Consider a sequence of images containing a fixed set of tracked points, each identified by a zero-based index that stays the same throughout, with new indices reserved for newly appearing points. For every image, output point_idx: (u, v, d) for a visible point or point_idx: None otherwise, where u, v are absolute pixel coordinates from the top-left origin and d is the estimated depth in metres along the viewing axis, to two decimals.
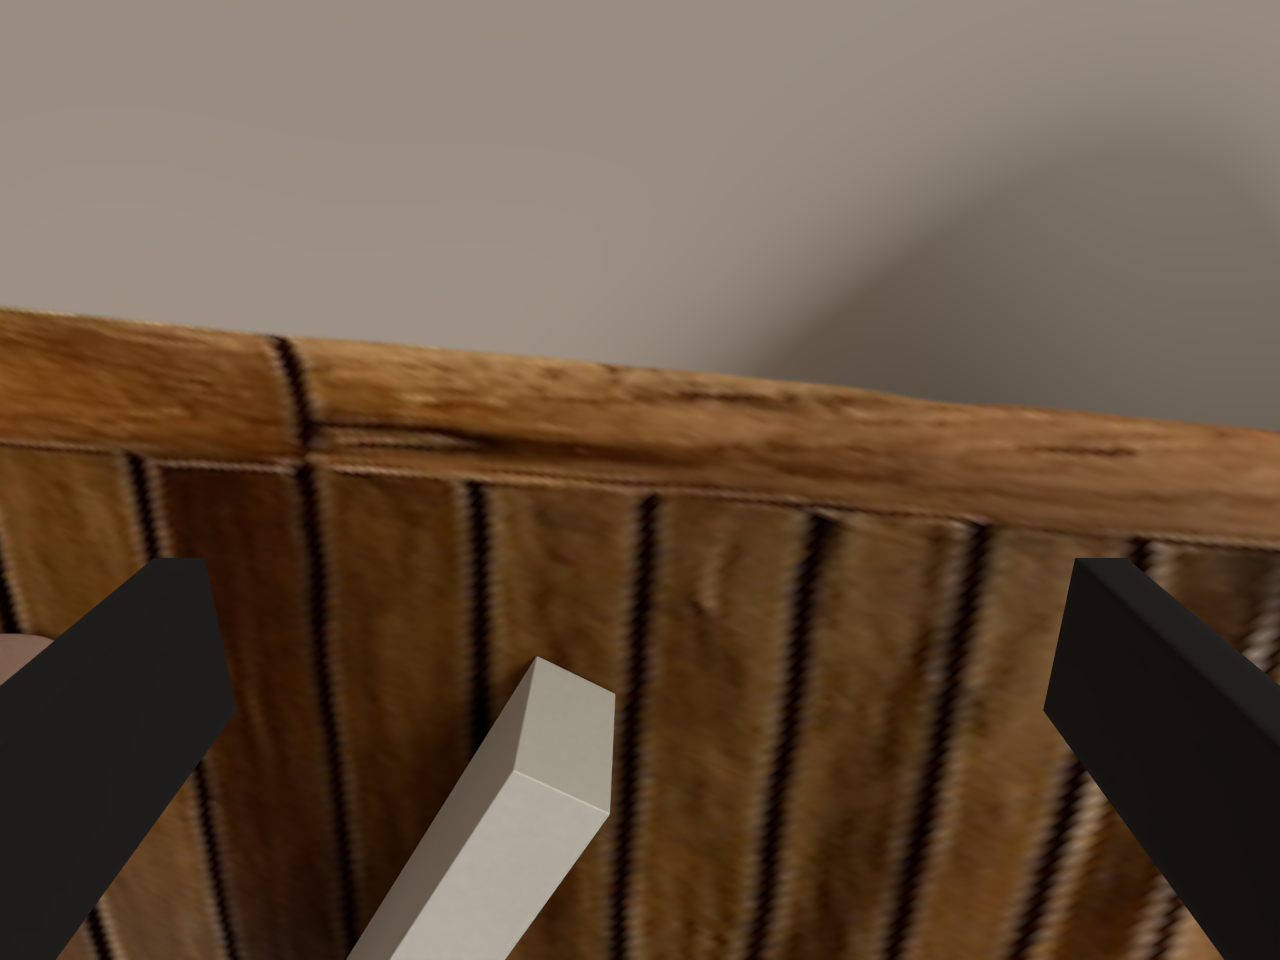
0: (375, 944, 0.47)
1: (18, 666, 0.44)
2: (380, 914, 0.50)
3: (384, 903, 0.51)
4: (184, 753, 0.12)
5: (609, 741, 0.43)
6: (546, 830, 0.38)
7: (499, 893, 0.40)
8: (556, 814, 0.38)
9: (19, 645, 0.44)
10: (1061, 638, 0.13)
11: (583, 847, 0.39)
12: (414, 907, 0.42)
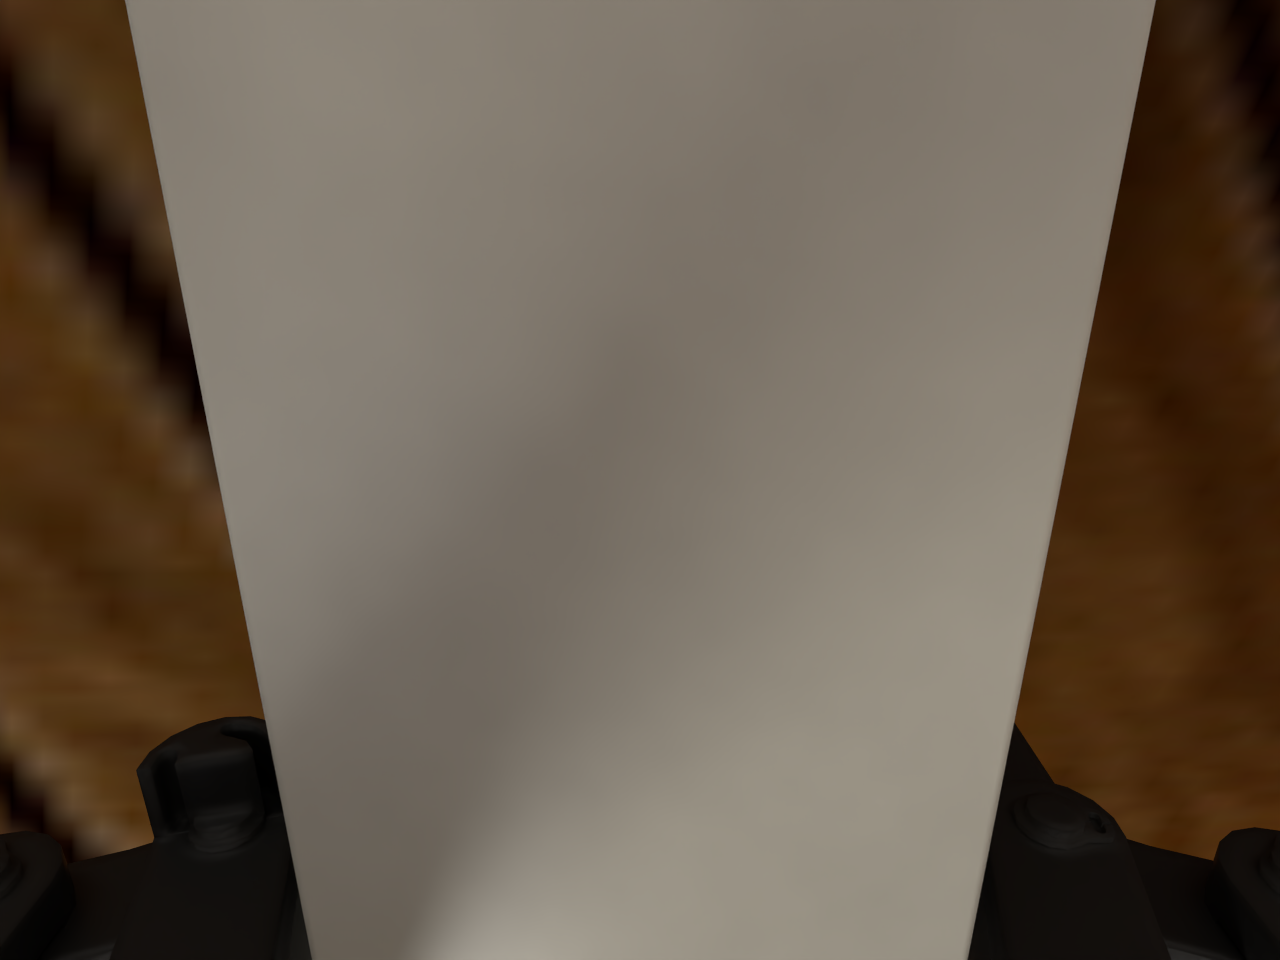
0: None
1: None
2: None
3: None
4: None
5: None
6: None
7: (600, 826, 0.06)
8: None
9: None
10: None
11: None
12: None
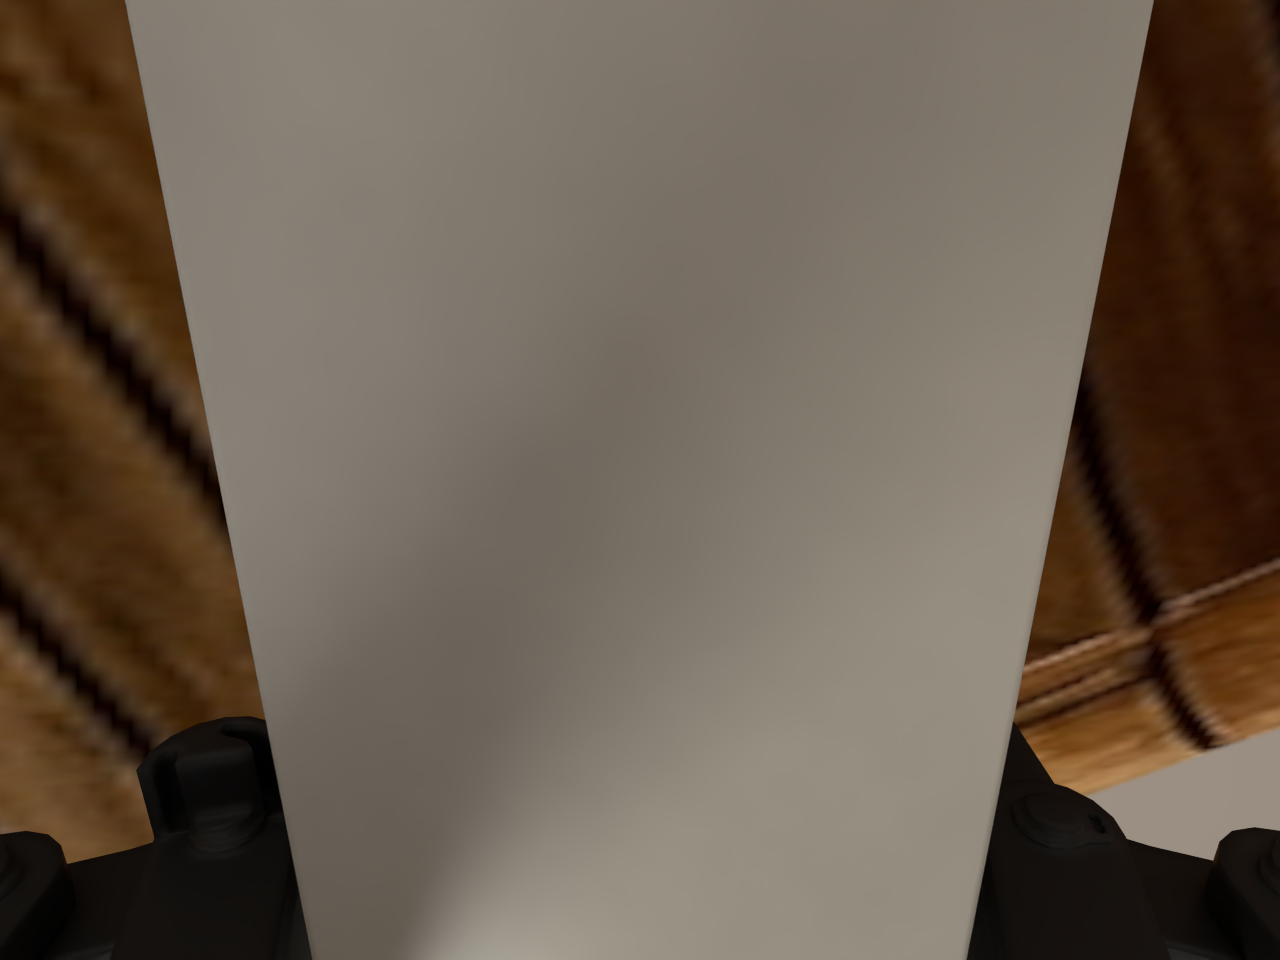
0: None
1: None
2: None
3: None
4: None
5: None
6: None
7: (600, 828, 0.06)
8: None
9: None
10: None
11: None
12: None
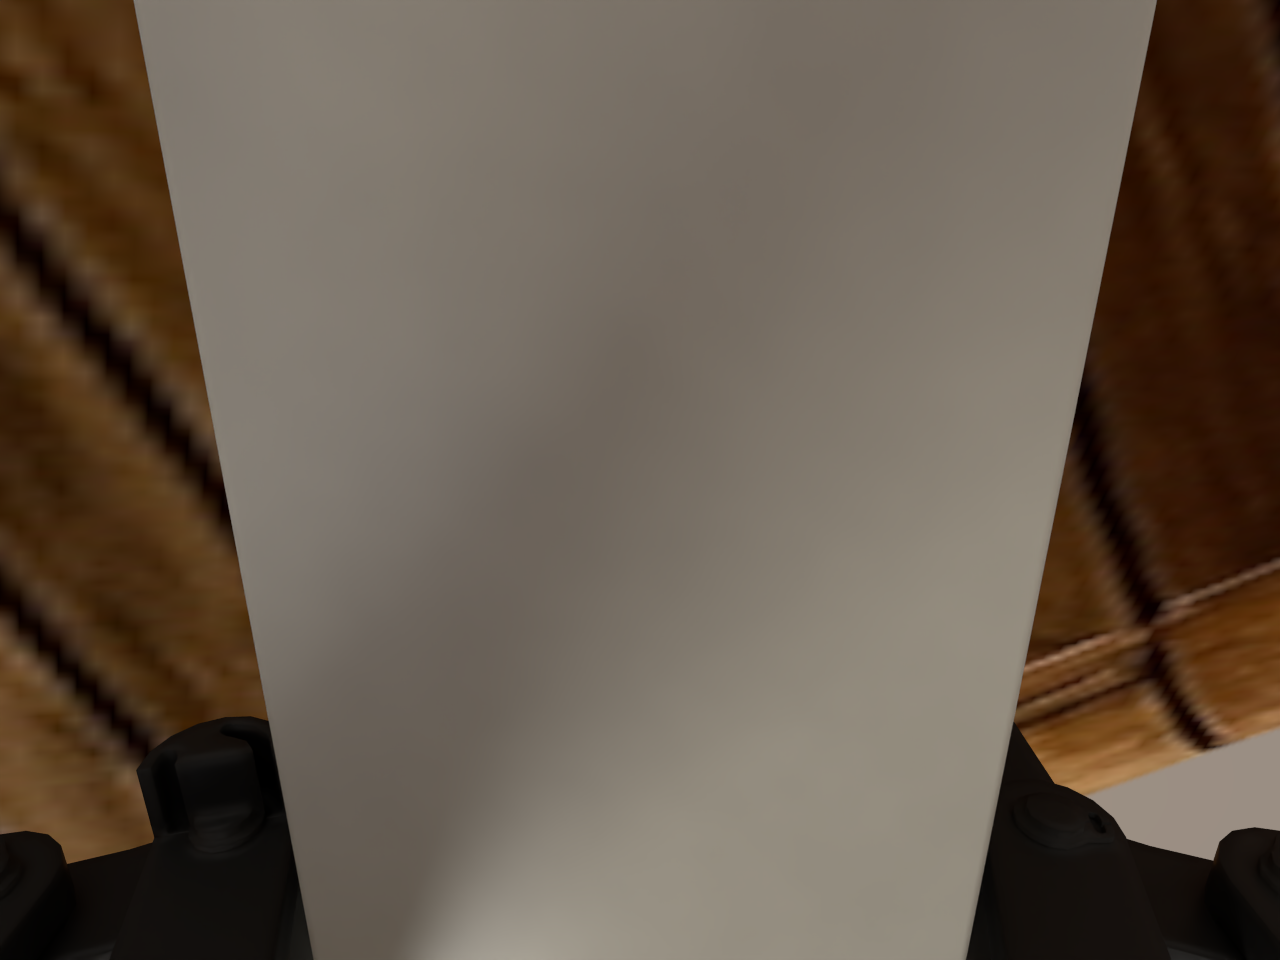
0: None
1: None
2: None
3: None
4: None
5: None
6: None
7: (602, 824, 0.06)
8: None
9: None
10: None
11: None
12: None
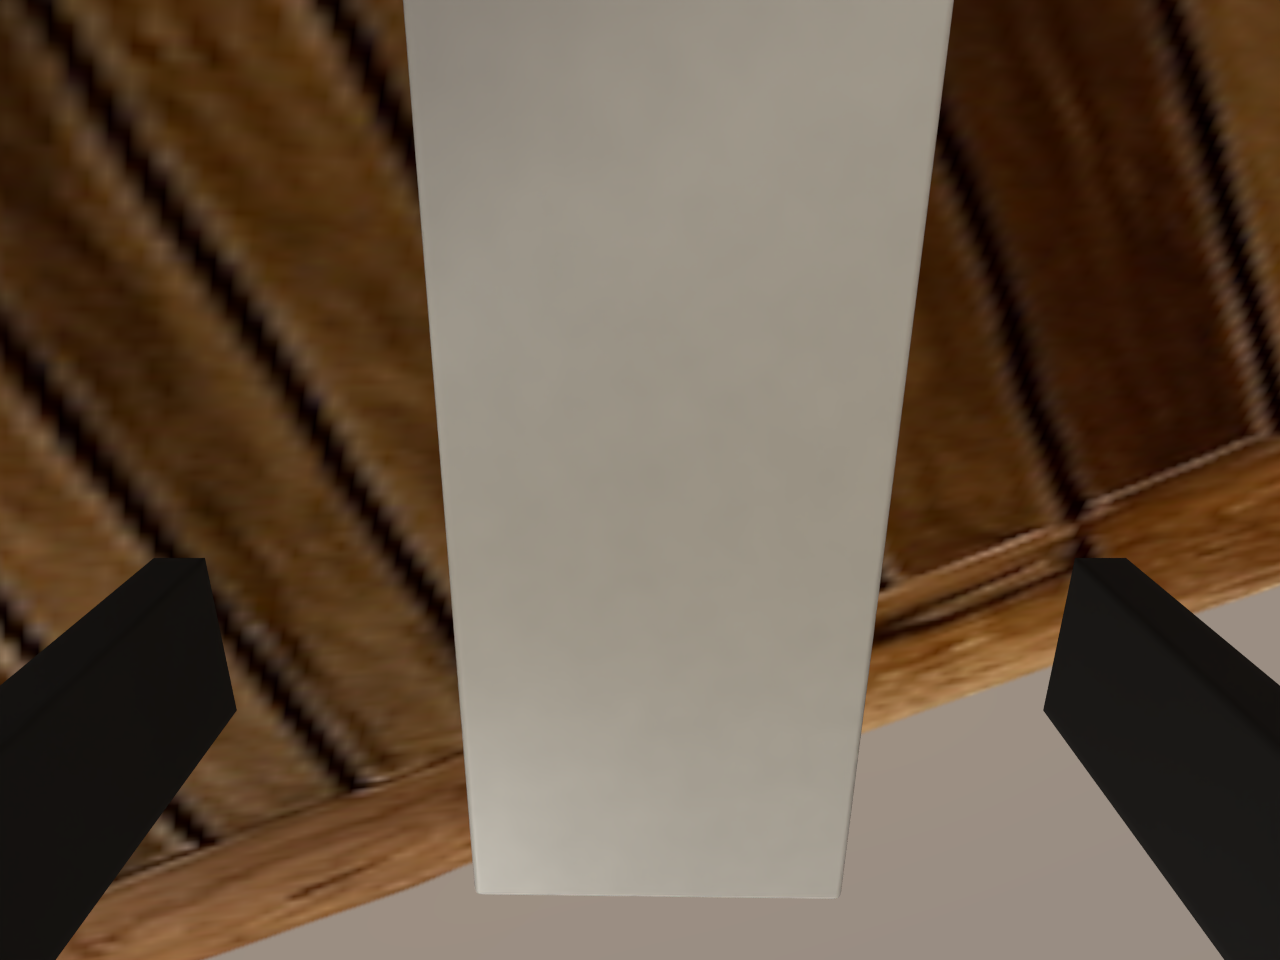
0: None
1: None
2: None
3: None
4: (184, 753, 0.12)
5: None
6: (628, 760, 0.10)
7: (642, 417, 0.09)
8: (630, 827, 0.11)
9: None
10: (1061, 638, 0.13)
11: (472, 756, 0.10)
12: None
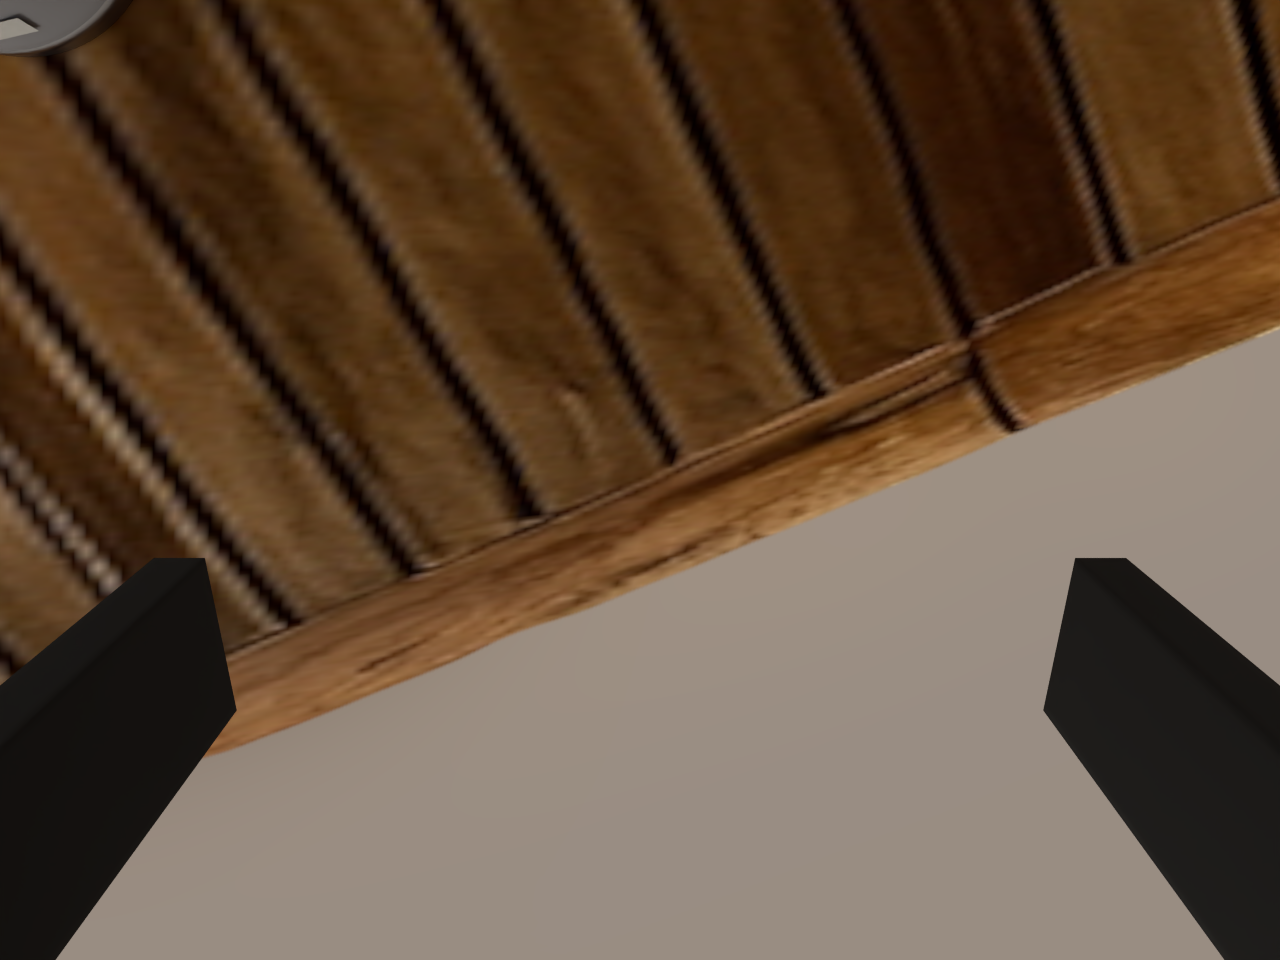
0: None
1: None
2: None
3: None
4: (184, 754, 0.12)
5: None
6: None
7: None
8: None
9: None
10: (1061, 638, 0.13)
11: None
12: None
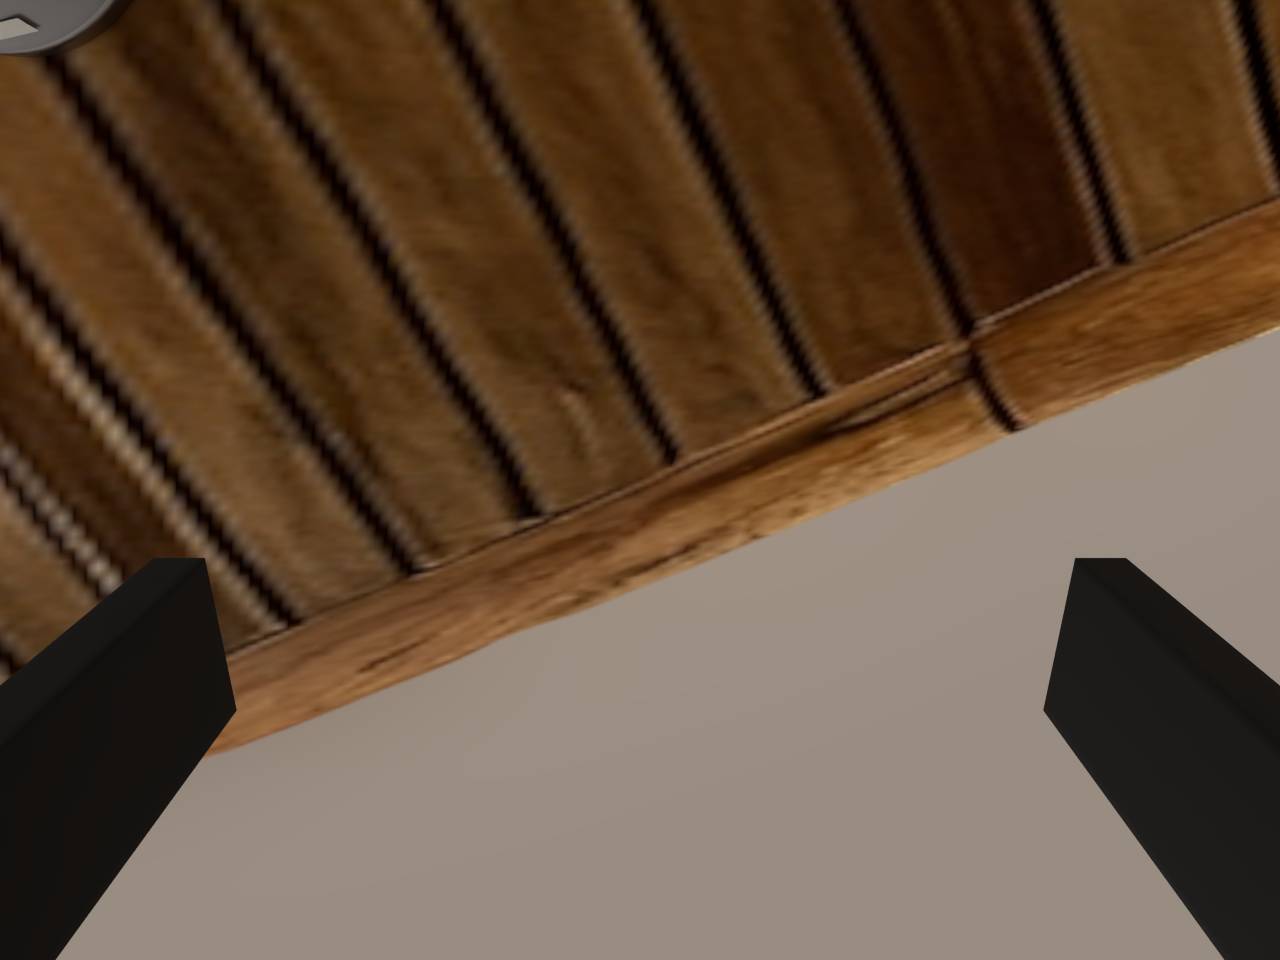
0: None
1: None
2: None
3: None
4: (184, 754, 0.12)
5: None
6: None
7: None
8: None
9: None
10: (1061, 638, 0.13)
11: None
12: None
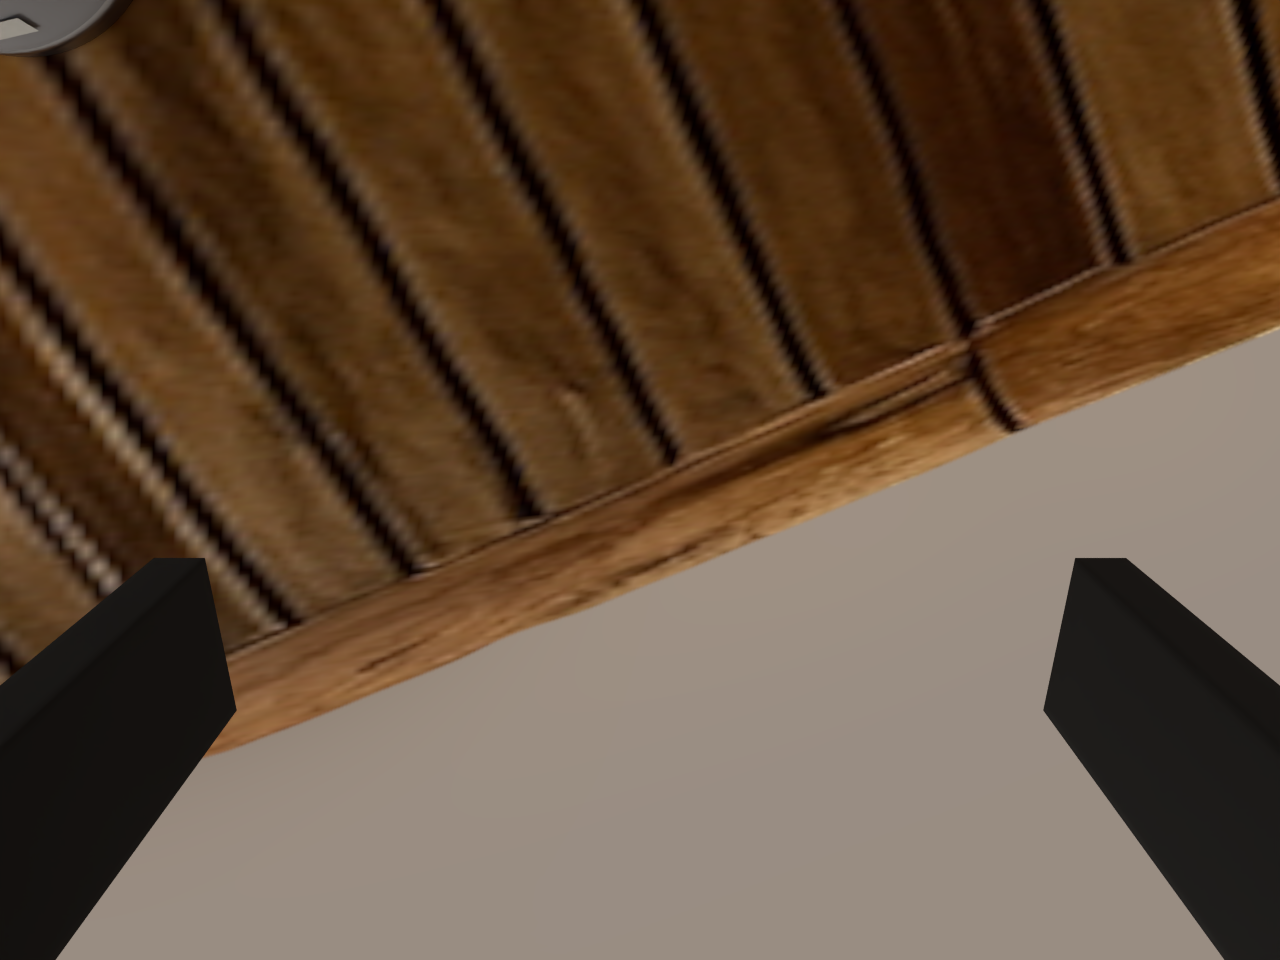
0: None
1: None
2: None
3: None
4: (184, 754, 0.12)
5: None
6: None
7: None
8: None
9: None
10: (1061, 638, 0.13)
11: None
12: None
